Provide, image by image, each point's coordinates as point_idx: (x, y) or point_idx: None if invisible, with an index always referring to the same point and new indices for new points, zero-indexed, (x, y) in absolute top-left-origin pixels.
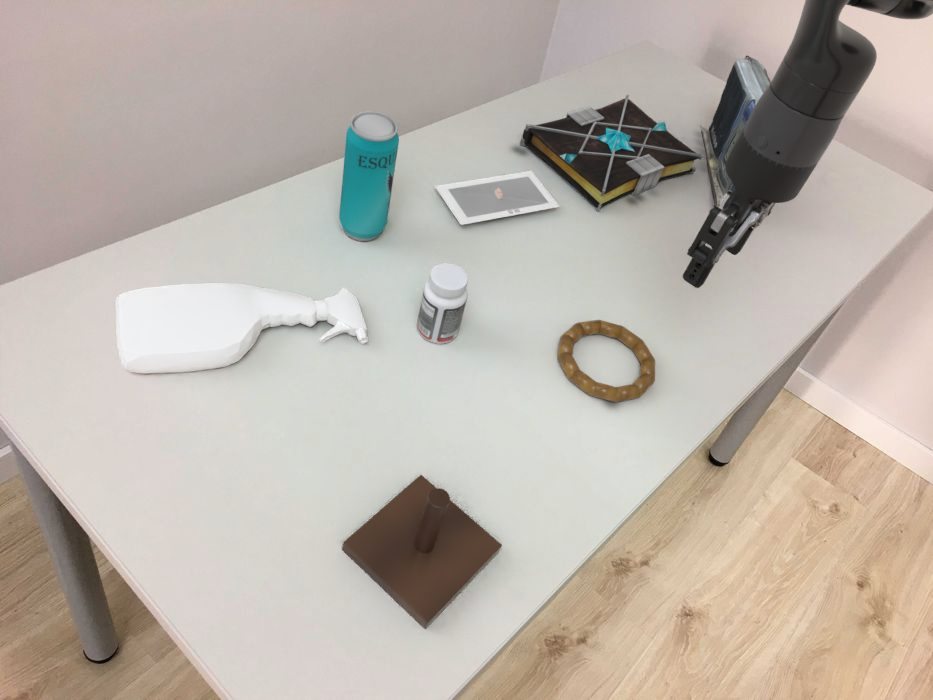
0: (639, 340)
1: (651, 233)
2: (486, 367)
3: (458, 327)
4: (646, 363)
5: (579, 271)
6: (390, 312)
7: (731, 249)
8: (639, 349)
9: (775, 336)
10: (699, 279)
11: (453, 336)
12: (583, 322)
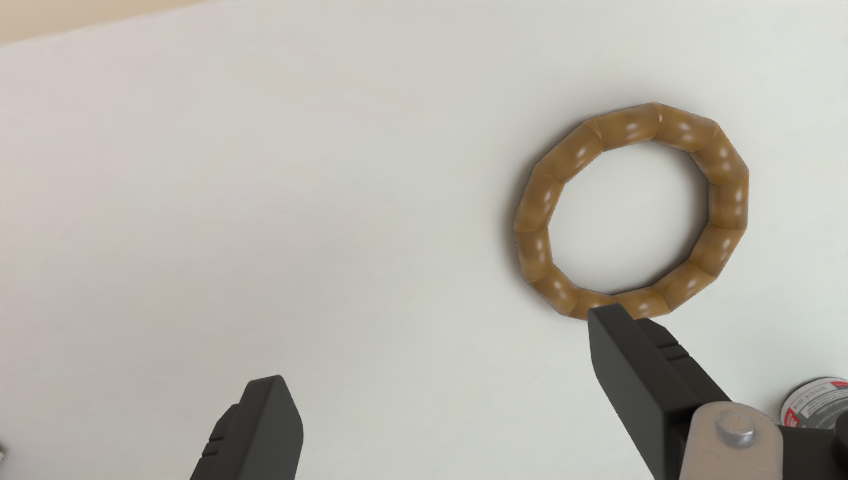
0: (534, 232)
1: None
2: (824, 309)
3: (836, 401)
4: (575, 170)
5: (467, 420)
6: None
7: (284, 403)
8: (551, 211)
9: (105, 78)
10: (652, 338)
11: (834, 386)
12: None
